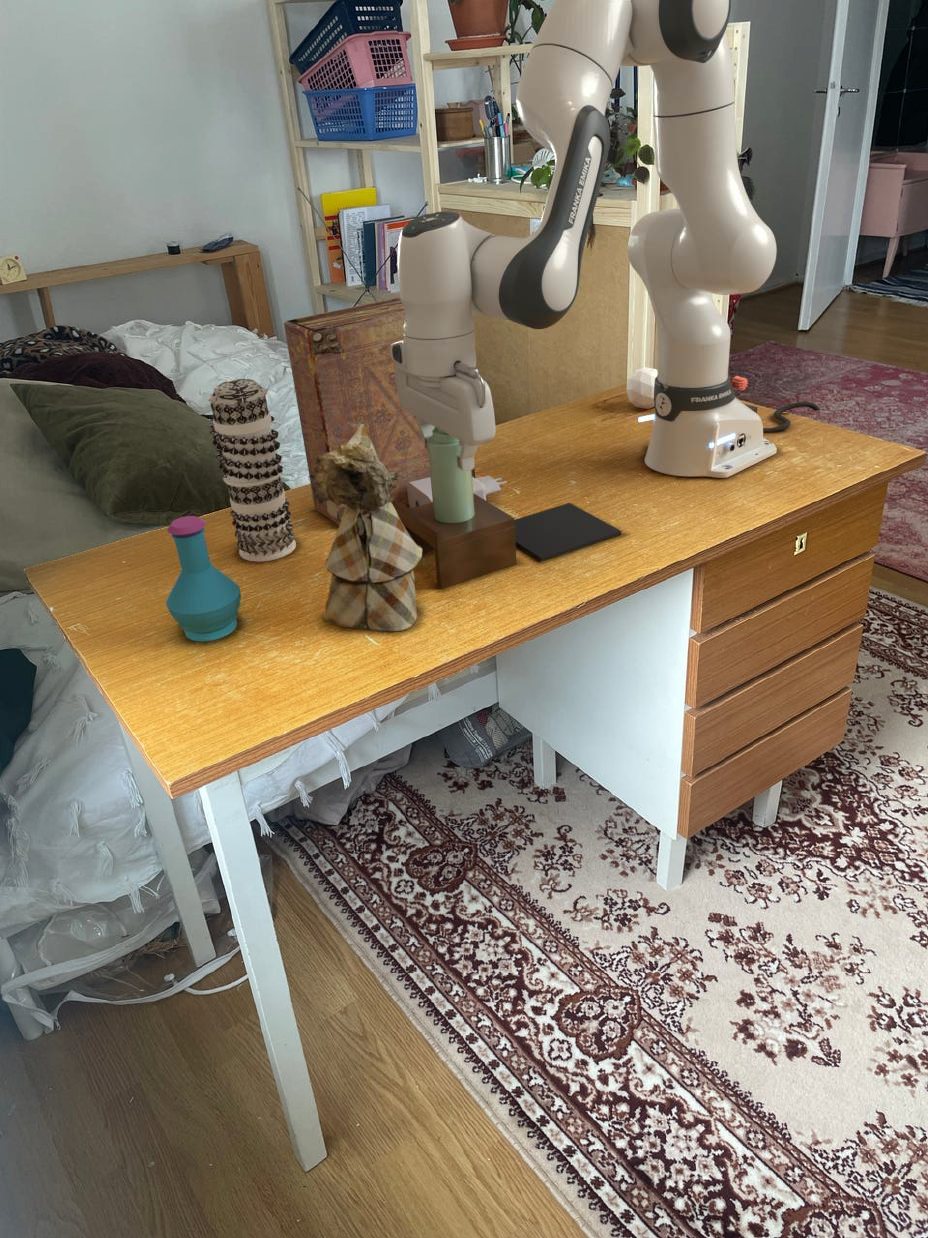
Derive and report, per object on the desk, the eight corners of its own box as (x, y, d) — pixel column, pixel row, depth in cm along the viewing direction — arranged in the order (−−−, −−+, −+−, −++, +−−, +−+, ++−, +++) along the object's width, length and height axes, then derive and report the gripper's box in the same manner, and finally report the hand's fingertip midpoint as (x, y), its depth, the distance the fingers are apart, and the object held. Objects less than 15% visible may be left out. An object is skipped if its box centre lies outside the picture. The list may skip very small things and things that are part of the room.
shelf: (473, 534, 140) (469, 481, 136) (516, 563, 131) (514, 508, 126) (401, 556, 135) (395, 502, 131) (441, 589, 126) (435, 532, 122)
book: (446, 469, 163) (431, 290, 148) (476, 484, 156) (463, 298, 141) (314, 510, 152) (283, 320, 137) (340, 528, 145) (310, 331, 130)
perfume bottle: (261, 623, 121) (239, 516, 114) (201, 654, 116) (174, 545, 108) (219, 603, 127) (195, 500, 119) (160, 632, 121) (131, 526, 114)
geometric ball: (653, 422, 184) (661, 398, 177) (616, 406, 185) (622, 381, 178) (668, 394, 187) (677, 369, 179) (631, 378, 188) (639, 352, 181)
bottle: (462, 503, 133) (453, 388, 124) (482, 516, 128) (474, 398, 120) (427, 513, 130) (415, 397, 122) (446, 527, 126) (435, 408, 118)
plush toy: (467, 606, 119) (415, 413, 110) (384, 653, 112) (321, 451, 103) (401, 594, 130) (349, 417, 121) (321, 636, 122) (259, 451, 113)
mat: (569, 506, 146) (569, 502, 146) (621, 534, 136) (621, 530, 136) (492, 530, 141) (492, 526, 140) (540, 561, 131) (540, 557, 130)
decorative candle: (232, 543, 143) (197, 380, 131) (292, 530, 146) (263, 370, 133) (240, 567, 136) (203, 398, 123) (303, 554, 138) (274, 386, 125)
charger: (519, 503, 148) (434, 528, 143) (490, 485, 156) (408, 508, 150) (518, 475, 146) (431, 499, 140) (489, 458, 153) (405, 480, 148)
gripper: (505, 366, 111) (510, 475, 118) (425, 335, 127) (433, 433, 134) (459, 376, 109) (466, 488, 116) (383, 343, 125) (394, 443, 132)
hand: (448, 458), depth 125 cm, fingers open, 8 cm apart
